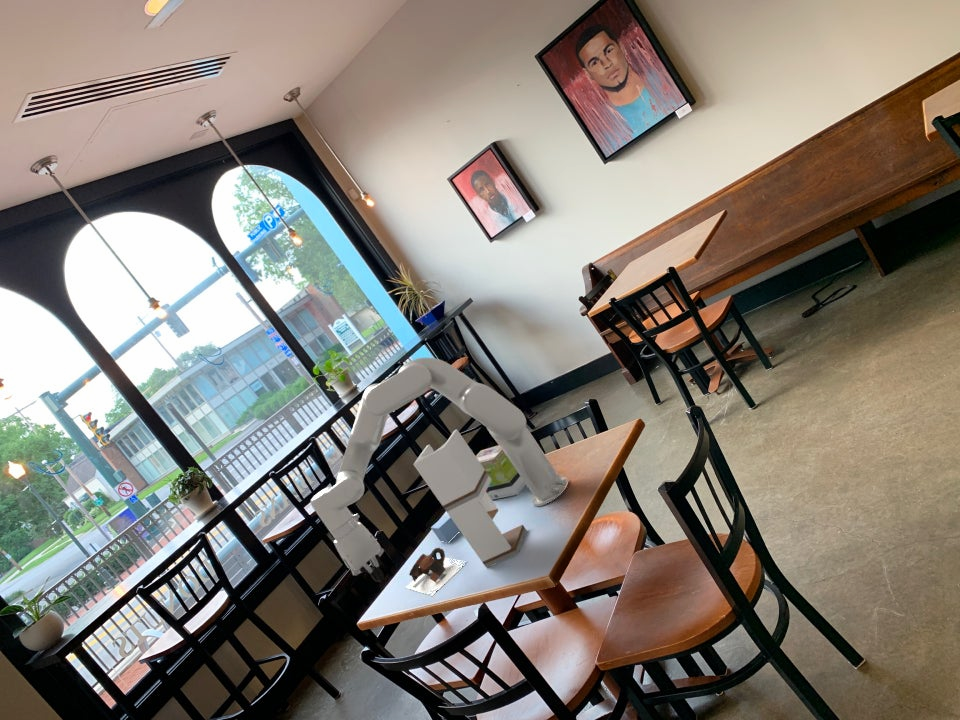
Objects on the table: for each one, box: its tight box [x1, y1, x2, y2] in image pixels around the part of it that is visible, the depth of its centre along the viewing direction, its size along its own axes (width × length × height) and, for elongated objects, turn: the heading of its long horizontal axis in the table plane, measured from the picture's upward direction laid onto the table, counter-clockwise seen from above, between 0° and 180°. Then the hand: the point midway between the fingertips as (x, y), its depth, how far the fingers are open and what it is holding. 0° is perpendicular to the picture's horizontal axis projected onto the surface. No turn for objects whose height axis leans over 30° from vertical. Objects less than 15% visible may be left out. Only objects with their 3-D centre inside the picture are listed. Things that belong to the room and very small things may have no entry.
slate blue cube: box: [430, 515, 461, 543], centre depth 235 cm, size 6×6×6 cm
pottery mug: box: [408, 547, 446, 582], centre depth 214 cm, size 12×10×8 cm
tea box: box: [475, 444, 527, 501], centre depth 240 cm, size 15×10×15 cm, turn 49°
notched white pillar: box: [413, 429, 527, 568], centre depth 198 cm, size 11×11×35 cm
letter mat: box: [405, 557, 466, 597], centre depth 214 cm, size 20×14×1 cm
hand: (381, 580), depth 206 cm, fingers closed
